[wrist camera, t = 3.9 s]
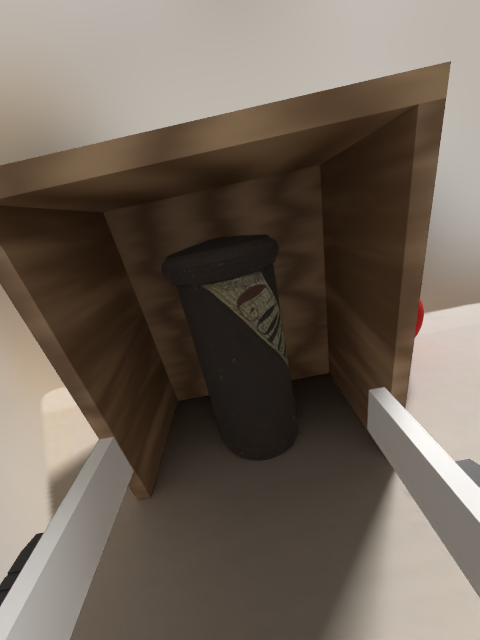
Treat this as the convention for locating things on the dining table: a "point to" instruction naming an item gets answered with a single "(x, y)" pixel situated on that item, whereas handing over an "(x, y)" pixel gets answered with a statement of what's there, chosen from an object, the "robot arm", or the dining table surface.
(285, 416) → the container
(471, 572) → the robot arm
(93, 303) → the cubby
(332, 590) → the dining table surface
